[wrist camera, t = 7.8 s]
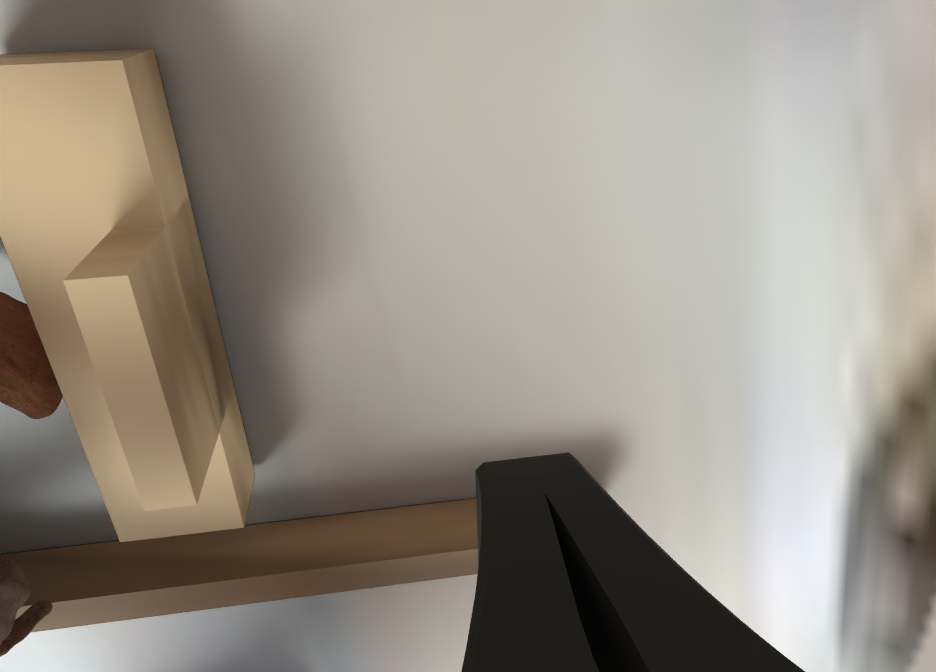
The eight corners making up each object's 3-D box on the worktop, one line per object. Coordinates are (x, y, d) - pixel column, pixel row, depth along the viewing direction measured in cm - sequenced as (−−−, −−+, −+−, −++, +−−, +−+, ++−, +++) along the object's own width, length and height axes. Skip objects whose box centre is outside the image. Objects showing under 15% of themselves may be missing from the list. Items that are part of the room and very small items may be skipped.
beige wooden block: (255, 475, 19) (227, 606, 15) (143, 487, 18) (85, 625, 14) (153, 48, 13) (69, 80, 9) (-8, 55, 13) (-163, 91, 9)
